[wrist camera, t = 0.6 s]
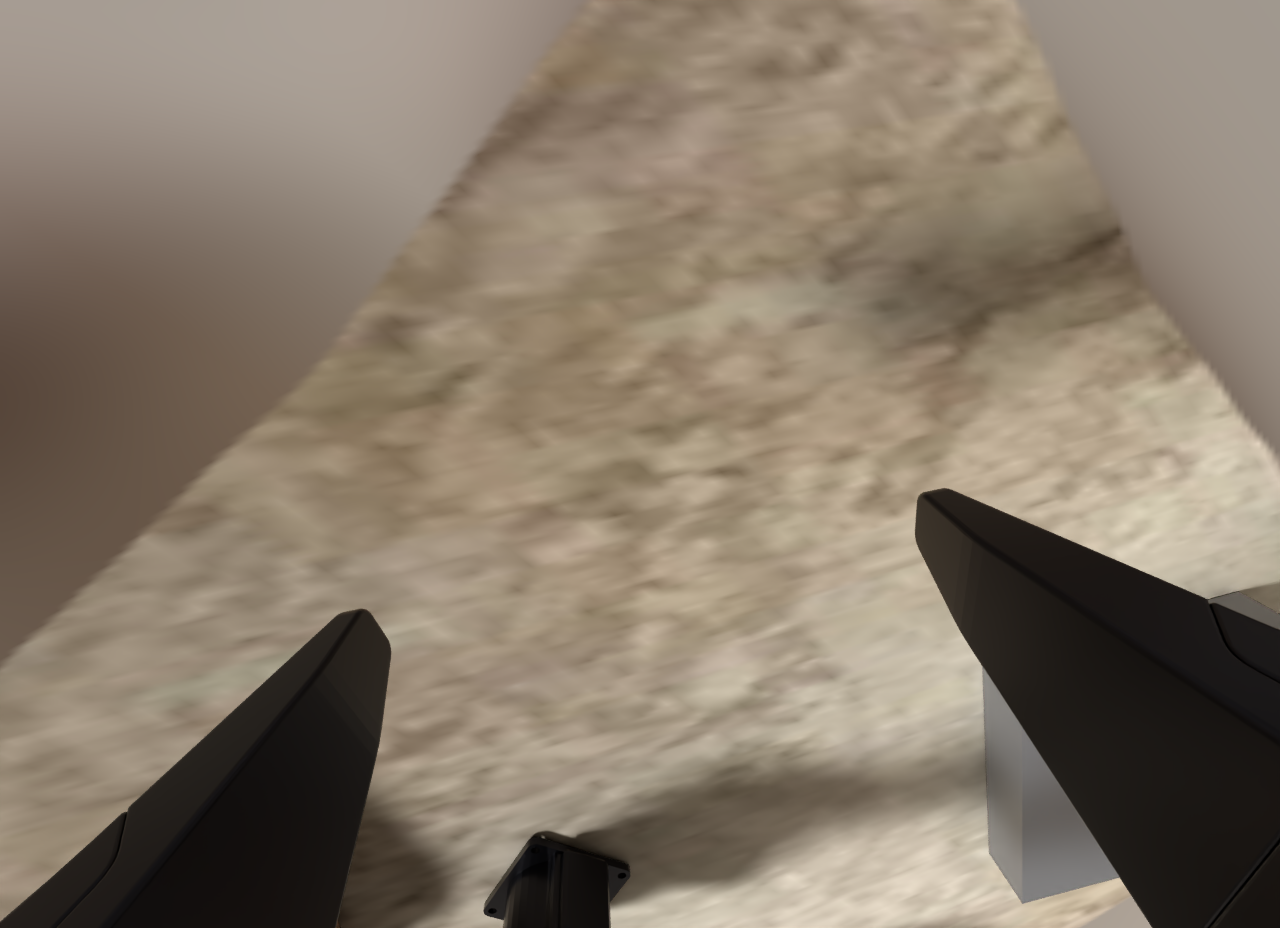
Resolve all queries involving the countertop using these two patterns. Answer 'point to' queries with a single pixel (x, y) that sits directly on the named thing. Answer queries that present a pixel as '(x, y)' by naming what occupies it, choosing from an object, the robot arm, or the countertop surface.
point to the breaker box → (1047, 800)
